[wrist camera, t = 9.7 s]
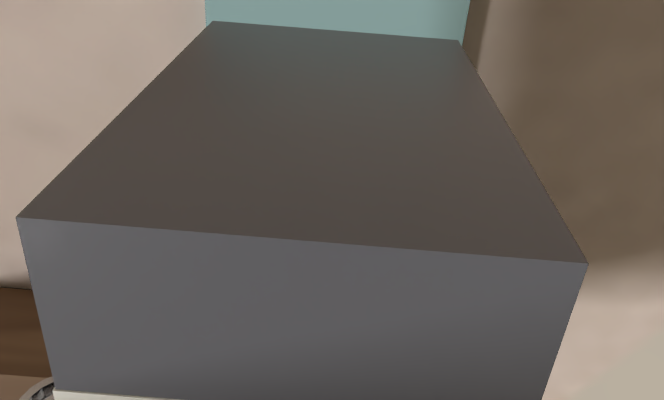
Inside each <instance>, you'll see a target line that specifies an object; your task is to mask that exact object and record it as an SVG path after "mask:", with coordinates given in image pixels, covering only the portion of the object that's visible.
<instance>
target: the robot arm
mask: <svg viewBox="0 0 664 400" xmlns="http://www.w3.org/2000/svg"><path fill="white" fill-rule="evenodd" d="M54 387H55V385H54V381H53V377H52V376H51V377H49V378H47V379H44V380H42V381H40V382H39V383H37V384H36V385H34V386H32V387H31V388H29V389H28V391H27V392H26V393H25V394H24V395H23V396H22V397H21V398H20V399H19V400H54V396H53V391H52V390H53V389H54Z"/></svg>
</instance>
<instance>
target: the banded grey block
mask: <svg viewBox="0 0 664 400" xmlns="http://www.w3.org/2000/svg"><path fill="white" fill-rule="evenodd" d="M16 221H17V226H18V230H19V234H20V238H21V243H22V247H23V251H24V256H25V260H26V264H27V269H28V273H29V277H30V282H31V286H32V290H33V295H34V299H35V303H36V308H37V312H38V316H39V321H40V325H41V329H42V333H43V338H44V342H45V346H46V351H47V355H48V359H49V364H50V368H51V372H52V377H53V381H54V385H55V387H54V389H53V390H52V391H53V396H54V400H541V399H542V396H543V394H544V391H545V388H546V385H547V382H548V379H549V376H550V373H551V371H552V368H553V365H554V362H555V359H556V356H557V353H558V350H559V348H560V345H561V342H562V339H563V336H564V333H565V330H566V327H567V325H568V322H569V319H570V316H571V313H572V310H573V307H574V304H575V302H576V299H577V296H578V293H579V290H580V287H581V284H582V281H583V278H584V276H585V273H586V270H587V267H588V264H589V263H588V262H587V260H586V258H585V257H584V255H583V253H582V251H581V250H580V248H579V246H578V245H577V243H576V241H575V239H574V238H573V236H572V234H571V233H570V231H569V229H568V227H567V226H566V224H565V222H564V221H563V219H562V217H561V215H560V214H559V212H558V210H557V209H556V207H555V205H554V203H553V202H552V200H551V198H550V197H549V195H548V193H547V191H546V190H545V188H544V186H543V185H542V183H541V181H540V179H539V178H538V176H537V174H536V173H535V171H534V169H533V167H532V166H531V164H530V162H529V161H528V159H527V157H526V155H525V154H524V152H523V150H522V149H521V147H520V145H519V143H518V142H517V140H516V138H515V137H514V135H513V133H512V131H511V130H510V128H509V126H508V125H507V123H506V121H505V119H504V118H503V116H502V114H501V113H500V111H499V109H498V107H497V106H496V104H495V102H494V101H493V99H492V97H491V95H490V94H489V92H488V90H487V89H486V87H485V85H484V83H483V82H482V80H481V78H480V77H479V75H478V73H477V71H476V70H475V68H474V66H473V65H472V63H471V61H470V59H469V58H468V56H467V54H466V53H465V51H464V49H463V47H462V46H461V44H460V42H459V41H458V40H450V39H438V38H425V37H413V36H400V35H387V34H375V33H362V32H350V31H337V30H324V29H312V28H299V27H287V26H274V25H261V24H249V23H236V22H224V21H212V22H211V23H210V24H209V25H208V26H207V27H206V28H205V29H204V30H203V31H202V32H201V33H200V34H199V35H198V36H197V37H196V38H195V39H194V40H193V41H192V42H191V43H190V44H189V45H188V46H187V47H186V48H185V49H184V50H183V51H182V52H181V53H180V54H179V55H178V56H177V57H176V58H175V59H174V60H173V61H172V62H171V63H170V64H169V65H168V66H167V67H166V68H165V69H164V70H163V71H162V72H161V73H160V74H159V75H158V76H157V77H156V78H155V79H154V80H153V81H152V82H151V83H150V84H149V85H148V86H147V87H146V88H145V89H144V90H143V91H142V92H141V93H140V94H139V95H138V96H137V97H136V98H135V99H134V100H133V101H132V102H131V103H130V104H129V105H128V106H127V107H126V108H125V109H124V110H123V111H122V112H121V113H120V114H119V115H118V116H117V117H116V118H115V119H114V120H113V121H112V122H111V123H110V124H109V125H108V126H107V127H106V128H105V129H104V130H103V131H102V132H101V133H100V134H99V135H98V136H97V137H96V138H95V139H94V140H93V141H92V142H91V143H90V144H89V145H88V146H87V147H86V148H85V149H84V150H83V151H82V152H81V153H80V154H79V155H78V156H77V157H76V158H75V159H74V160H73V161H72V162H71V163H70V164H69V165H68V166H67V167H66V168H65V169H64V170H63V171H62V172H61V173H60V174H59V175H58V176H57V177H56V178H55V179H54V180H53V181H52V182H50V183H49V184H48V185H47V186H46V187H45V188H44V189H43V190H42V191H41V192H40V193H39V194H38V195H37V196H36V197H35V198H34V199H33V200H32V201H31V202H30V203H29V204H28V205H27V206H26V207H25V208H24V209H23V210H22V211H21V212H20V213H19V214H18V215H17V216H16Z"/></svg>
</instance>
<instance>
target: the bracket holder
mask: <svg viewBox="0 0 664 400" xmlns="http://www.w3.org/2000/svg"><path fill="white" fill-rule="evenodd" d="M51 376H52V372H51V368H50V364H49V359H48V355H47V351H46V346H45V342H44V338H43V333H42V329H41V325H40V321H39V316H38V312H37V308H36V303H35V299H34V295H33V290H26V289H13V288H0V400H19V399H20V398H21V397H22V396H23V395H24V394H25V393H26V392H27V391H28V389H29V388H31V387H32V386H34V385H36V384H37V383H39V382H40V381H42V380H44V379H47V378H49V377H51Z"/></svg>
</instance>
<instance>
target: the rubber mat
mask: <svg viewBox="0 0 664 400" xmlns="http://www.w3.org/2000/svg"><path fill="white" fill-rule="evenodd" d="M469 4H470V0H205V13H206V27H207V26H208V25H209V24H210V23H211V22H212V21H224V22H236V23H249V24H261V25H274V26H287V27H299V28H312V29H324V30H337V31H350V32H362V33H375V34H387V35H400V36H413V37H425V38H438V39H450V40H458V41H459V42H460V44H461V46H462V43H463V38H464V32H465V26H466V21H467V15H468V10H469Z"/></svg>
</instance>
